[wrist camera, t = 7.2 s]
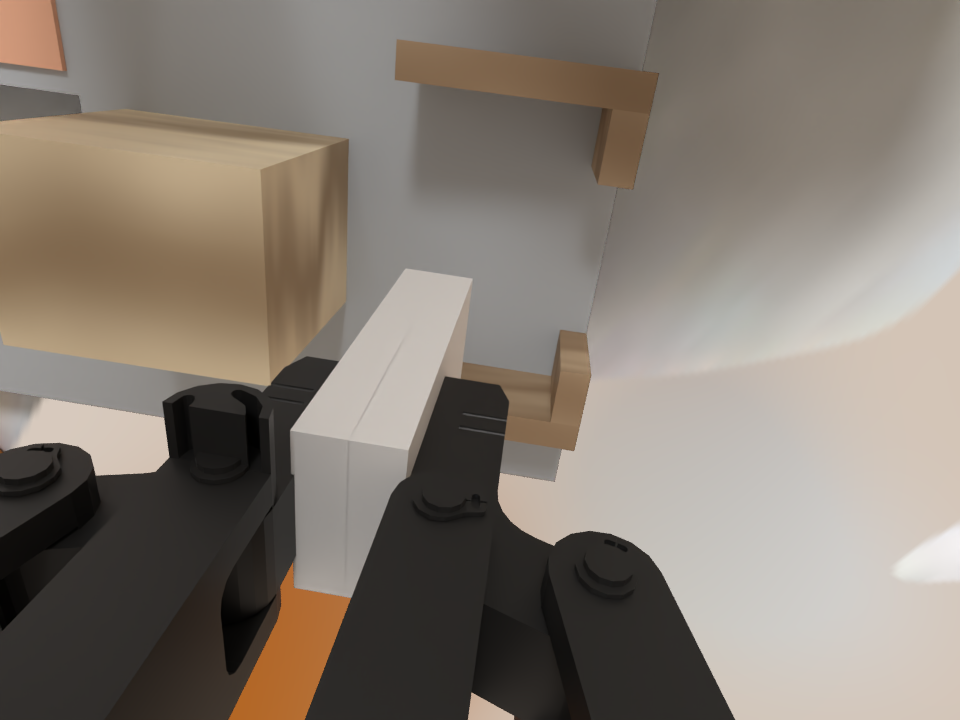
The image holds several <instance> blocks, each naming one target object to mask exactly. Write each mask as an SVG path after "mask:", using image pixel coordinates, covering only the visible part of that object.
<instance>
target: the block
mask: <svg viewBox="0 0 960 720" xmlns="http://www.w3.org/2000/svg"><path fill="white" fill-rule="evenodd" d="M348 156H349V139H347V138H340V137H332V136H325V135H317V134H310V133H302V132H295V131H287V130H280V129H272V128H265V127H257V126H250V125H243V124H235V123H228V122H220V121H213V120H205V119H198V118H190V117H183V116H175V115H168V114H160V113H153V112H146V111H138V110H131V109H119V110H109V111H98V112H88V113H78V114H68V115H58V116H47V117H37V118H27V119H17V120H6V121H0V333H1V337H2V341H3V345H8V346H14V347H20V348H27V349H33V350H40V351H46V352H52V353H59V354H65V355H72V356H78V357H84V358H91V359H97V360H104V361H110V362H116V363H123V364H129V365H136V366H142V367H148V368H155V369H161V370H168V371H174V372H180V373H187V374H193V375H200V376H206V377H212V378H219V379H225V380H232V381H238V382H244V383H251V384H257V385H264V386H268V385H270V386H271V382H272V381H273V380H274V379H275V377H276V376H277V375H278V374H279V373H280V372H281V371H282V369H283V368H284V367H286V366H288V365H290V364H291V363H292V362H293V361H294V360H295V358H296V357H297V356H298V355H299V354H300V353H301V352H302V351H303V349H304V348H305V347H306V346H307V345H308V344H309V343H310V342H311V340H312V339H313V338H314V337H315V336H316V335H317V334H318V333H319V332H320V330H321V329H322V328H323V327H324V326H325V325H326V324H327V323H328V321H329V320H330V319H331V318H332V317H333V316H334V315H335V314H336V312H337V311H338V310H339V309H340V308H341V307H342V306H343V305H344V303H345V302H346V281H347V219H348Z"/></svg>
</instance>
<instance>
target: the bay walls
mask: <svg viewBox="0 0 960 720" xmlns="http://www.w3.org/2000/svg"><path fill="white" fill-rule="evenodd" d="M658 76H659V73H653V72H645V71H637V70H630V69H622V68H614V67H607V66H599V65H591V64H584V63H576V62H568V61H561V60H553V59H545V58H538V57H530V56H522V55H515V54H507V53H499V52H492V51H484V50H476V49H469V48H461V47H453V46H446V45H438V44H430V43H423V42H415V41H407V40H400V39H397V42H396V62H395V80H398V81H406V82H413V83H421V84H428V85H436V86H443V87H451V88H458V89H466V90H473V91H481V92H488V93H496V94H503V95H510V96H518V97H525V98H533V99H540V100H548V101H555V102H563V103H570V104H578V105H585V106H593V107H600V108H602V113H601V118H600V124H599V129H598V134H597V139H596V145H595V150H594V155H593V160H592V165H591V167H592V170H593V173H594V176H595V178H596V181H597V184H598V185H604V186H611V187H618V188H626V189H633V187H634V182H635V178H636V174H637V169H638V165H639V160H640V156H641V151H642V147H643V142H644V138H645V133H646V129H647V125H648V120H649V116H650V111H651V107H652V102H653V98H654V93H655V89H656V84H657V80H658ZM590 378H591V370H590V361H589V353H588V344H587V335H586V333H580V332H573V331H566V330H560V332H559V338H558V343H557V348H556V353H555V358H554V364H553V369H552V374H551V376H549V375H542V374H536V373H530V372H523V371H517V370H510V369H504V368H498V367H491V366H485V365H478V364H472V363H466V362H463V364H462V372H461V379H466V380H472V381H478V382H484V383H490V384H497V385H500V386H501V388H502V389H503V391H504V393H505V395H506V396H507V398H508V400H509V409H508V416H507V424H506V431H505V439H504V440H509V441H515V442H521V443H527V444H534V445H540V446H546V447H552V448H558V449H565V450H571V451H574V450H575V445H576V441H577V436H578V432H579V427H580V423H581V418H582V414H583V410H584V405H585V401H586V396H587V391H588V387H589V383H590Z"/></svg>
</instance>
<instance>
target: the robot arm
mask: <svg viewBox="0 0 960 720" xmlns="http://www.w3.org/2000/svg"><path fill="white" fill-rule="evenodd" d="M472 281H473V279H472V278H466V277H459V276H452V275H446V274H439V273H433V272H426V271H420V270H413V269H407V268H406V269H405V270H404V271H403V273H402V274H401V276H400V277H399V278H398V280H397V281H396V283H395V284H394V285H393V287H392V288H391V290H390V291H389V292H388V294H387V295H386V297H385V298H384V299H383V301H382V302H381V304H380V305H379V306H378V308H377V309H376V311H375V312H374V313H373V315H372V316H371V318H370V319H369V320H368V322H367V323H366V325H365V326H364V328H363V329H362V330H361V332H360V333H359V335H358V336H357V337H356V339H355V340H354V342H353V343H352V344H351V346H350V347H349V349H348V350H347V351H346V353H345V354H344V356H343V357H342V358H341V360H340V361H334V360H328V359H322V358H316V357H309V356H306V357H304V358H302V359H300V360H298V361H296V362H294V363H292V364H290V365H288V366H286V367H284V368H283V369H282V371H281V372H280V373H279V374H278V375H277V376H276V377H275V379H274V380H273V381H272V382H271V386H270V385H268V386H267V388H266V389H265V390H264V391H263V392H261V391H260V390H258V389H255V388H252V387H248V386H245V385H241V384H228V383H216V384H207V385H199V386H195V387H192V388H189V389H186V390H183V391H180V392H177V393H175V394H174V395H172V396H171V397H169V398H167V399H166V400H164V401H162V405H163V412H164V420H165V427H166V434H167V442H168V449H169V456H170V457H169V459H168V460H167V461H166V462H165V463H164V464H163V465H162V466H161V467H160V468H159V469H158V470H157V471H156V472H152V473H144V474H123V475H103V476H102V475H101V476H95V471H94V467H93V463H92V459H91V456H90V454H88V453H87V452H85V451H84V450H82V449H81V448H79V447H77V446H72V445H67V444H61V443H47V444H33V445H28V446H24V447H19V448H15V449H10V450H8V451H5V452H3V453H0V720H228V719H229V717H230V715H231V713H232V711H233V709H234V707H235V705H236V703H237V701H238V699H239V697H240V695H241V693H242V691H243V689H244V687H245V685H246V683H247V681H248V678H249V677H250V674H251V672H252V670H253V668H254V666H255V664H256V662H257V660H258V658H259V656H260V654H261V652H262V650H263V648H264V646H265V644H266V642H267V640H268V638H269V636H270V634H271V631H272V630H273V628H274V625H275V624H276V622H277V619H278V615H279V611H280V607H281V593H280V585H281V584H282V581H283V580H284V578H285V576H286V574H287V572H288V570H289V568H290V566H291V565H292V563H293V571H294V588H299V589H305V590H310V591H315V592H321V593H326V594H332V595H338V596H343V597H349V598H351V600H350V603H349V605H348V608H347V611H346V613H345V616H344V619H343V621H342V624H341V626H340V629H339V632H338V634H337V637H336V640H335V642H334V645H333V647H332V650H331V653H330V655H329V658H328V660H327V663H326V666H325V668H324V671H323V673H322V676H321V679H320V682H319V684H318V687H317V689H316V692H315V694H314V697H313V700H312V702H311V705H310V708H309V710H308V713H307V715H306V718H305V720H468V714H469V707H470V699H471V692H472V693H474V694H476V695H478V696H479V697H481V698H483V699H485V700H487V701H488V702H490V703H492V704H494V705H496V706H497V707H499V708H501V709H503V710H505V711H507V712H509V713H510V714H512V715H514V720H735V719H734V717H733V715H732V713H731V711H730V709H729V707H728V705H727V703H726V701H725V699H724V697H723V695H722V693H721V691H720V689H719V687H718V685H717V683H716V681H715V679H714V677H713V675H712V673H711V671H710V669H709V667H708V665H707V663H706V661H705V659H704V657H703V655H702V653H701V651H700V649H699V647H698V645H697V643H696V641H695V639H694V637H693V635H692V633H691V631H690V629H689V627H688V625H687V623H686V621H685V619H684V617H683V615H682V613H681V611H680V609H679V607H678V605H677V603H676V601H675V599H674V597H673V595H672V593H671V591H670V589H669V587H668V585H667V583H666V581H665V579H664V577H663V575H662V573H661V571H660V570H659V569H658V567H657V566H656V565H655V563H654V562H653V561H652V559H651V558H650V556H649V555H647V554H646V553H645V552H643V551H642V550H641V549H639V548H638V547H636V546H635V545H634V544H632V543H631V542H629V541H626V540H624V539H621V538H619V537H617V536H614V535H612V534H607V533H600V532H593V531H587V532H580V533H574V534H570V535H568V536H566V537H565V538H563V539H561V540H560V541H558V542H556V544H555V546H553V545H550V544H548V543H546V542H543V541H541V540H539V539H537V538H535V537H533V536H531V535H529V534H527V533H525V532H524V531H522V530H520V529H519V528H518V527H517V526H515V525H514V524H513V523H512V522H510V520H509V519H508V518H507V516H506V515H505V514H504V513H503V511H502V509H501V507H500V504H499V502H498V483H499V476H500V469H501V461H502V454H503V446H504V439H505V431H506V424H507V416H508V409H509V400H508V398H507V396H506V395H505V393H504V391H503V389H502V388H501V386H500V385H497V384H490V383H484V382H478V381H472V380H466V379H461V372H462V364H463V355H464V347H465V339H466V331H467V322H468V314H469V306H470V298H471V289H472Z"/></svg>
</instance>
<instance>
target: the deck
mask: <svg viewBox="0 0 960 720" xmlns="http://www.w3.org/2000/svg"><path fill="white" fill-rule="evenodd" d="M656 4H657V0H0V85H7V86H14V87H21V88H29V89H36V90H43V91H50V92H57V93H65V94H72V95H79V99H80V105H81V111H82V113H88V112H98V111H109V110H119V109H131V110H138V111H146V112H153V113H160V114H168V115H175V116H183V117H190V118H198V119H205V120H213V121H220V122H228V123H235V124H243V125H250V126H257V127H265V128H272V129H280V130H287V131H295V132H302V133H310V134H317V135H325V136H332V137H340V138H347V139H349V156H348V219H347V281H346V302H345V303H344V305H343V306H342V307H341V308H340V309H339V310H338V311H337V312H336V314H335V315H334V316H333V317H332V318H331V319H330V320H329V321H328V323H327V324H326V325H325V326H324V327H323V328H322V329H321V330H320V332H319V333H318V334H317V335H316V336H315V337H314V338H313V339H312V340H311V342H310V343H309V344H308V345H307V346H306V347H305V348H304V349H303V351H302V352H301V353H300V354H299V355H298V356H297V357H296V358H295V360H294V361H293V362H292V363H294V362H296V361H298V360H300V359H302V358H304V357H306V356H309V357H316V358H322V359H328V360H334V361H340V360H341V358H342V357H343V356H344V354H345V353H346V351H347V350H348V349H349V347H350V346H351V344H352V343H353V342H354V340H355V339H356V337H357V336H358V335H359V333H360V332H361V330H362V329H363V328H364V326H365V325H366V323H367V322H368V320H369V319H370V318H371V316H372V315H373V313H374V312H375V311H376V309H377V308H378V306H379V305H380V304H381V302H382V301H383V299H384V298H385V297H386V295H387V294H388V292H389V291H390V290H391V288H392V287H393V285H394V284H395V283H396V281H397V280H398V278H399V277H400V276H401V274H402V273H403V271H404V270H405V269H406V268H407V269H413V270H420V271H426V272H433V273H439V274H446V275H452V276H459V277H466V278H472V279H473V281H472V289H471V298H470V306H469V314H468V322H467V331H466V339H465V347H464V355H463V362H466V363H472V364H478V365H485V366H491V367H498V368H504V369H510V370H517V371H523V372H530V373H536V374H542V375H549V376H551V374H552V369H553V364H554V358H555V353H556V348H557V343H558V338H559V332H560V330H566V331H573V332H580V333H587V328H588V323H589V319H590V314H591V309H592V305H593V300H594V295H595V290H596V286H597V281H598V276H599V272H600V267H601V262H602V258H603V253H604V248H605V244H606V239H607V234H608V229H609V225H610V220H611V215H612V211H613V206H614V201H615V197H616V192H617V187H611V186H604V185H598V184H597V181H596V178H595V176H594V173H593V170H592V167H591V165H592V160H593V155H594V150H595V145H596V139H597V134H598V129H599V124H600V118H601V113H602V108H600V107H593V106H585V105H578V104H570V103H563V102H555V101H548V100H540V99H533V98H525V97H518V96H510V95H503V94H496V93H488V92H481V91H473V90H466V89H458V88H451V87H443V86H436V85H428V84H421V83H413V82H406V81H398V80H395V62H396V42H397V39H400V40H407V41H415V42H423V43H430V44H438V45H446V46H453V47H461V48H469V49H476V50H484V51H492V52H499V53H507V54H515V55H522V56H530V57H538V58H545V59H553V60H561V61H568V62H576V63H584V64H591V65H599V66H607V67H614V68H622V69H630V70H637V71H642V70H643V65H644V61H645V56H646V51H647V47H648V42H649V37H650V32H651V28H652V23H653V18H654V14H655V9H656ZM292 363H291V364H292ZM216 383H228V384H241V385H245V386H248V387H252V388H255V389H258V390H260V391H261V392H263V391H264V390H265V389H266V388H267V386H264V385H257V384H251V383H244V382H238V381H232V380H225V379H219V378H212V377H206V376H200V375H193V374H187V373H180V372H174V371H168V370H161V369H155V368H148V367H142V366H136V365H129V364H123V363H116V362H110V361H104V360H97V359H91V358H84V357H78V356H72V355H65V354H59V353H52V352H46V351H40V350H33V349H27V348H20V347H14V346H8V345H3V341H2V337H1V333H0V391H6V392H12V393H18V394H24V395H30V396H36V397H42V398H48V399H55V400H61V401H67V402H73V403H79V404H85V405H91V406H97V407H104V408H109V409H115V410H122V411H127V412H133V413H139V414H145V415H152V416H158V417H164V412H163V405H162V401H164V400H166V399H167V398H169V397H171V396H172V395H174V394H175V393H177V392H180V391H183V390H186V389H189V388H192V387H195V386H199V385H207V384H216ZM561 450H562V449H558V448H552V447H546V446H540V445H534V444H527V443H521V442H515V441H509V440H504V446H503V454H502V461H501V469H500V473H504V474H511V475H517V476H523V477H529V478H535V479H541V480H548V481H554V482H555V478H556V473H557V469H558V464H559V459H560V455H561Z"/></svg>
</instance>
